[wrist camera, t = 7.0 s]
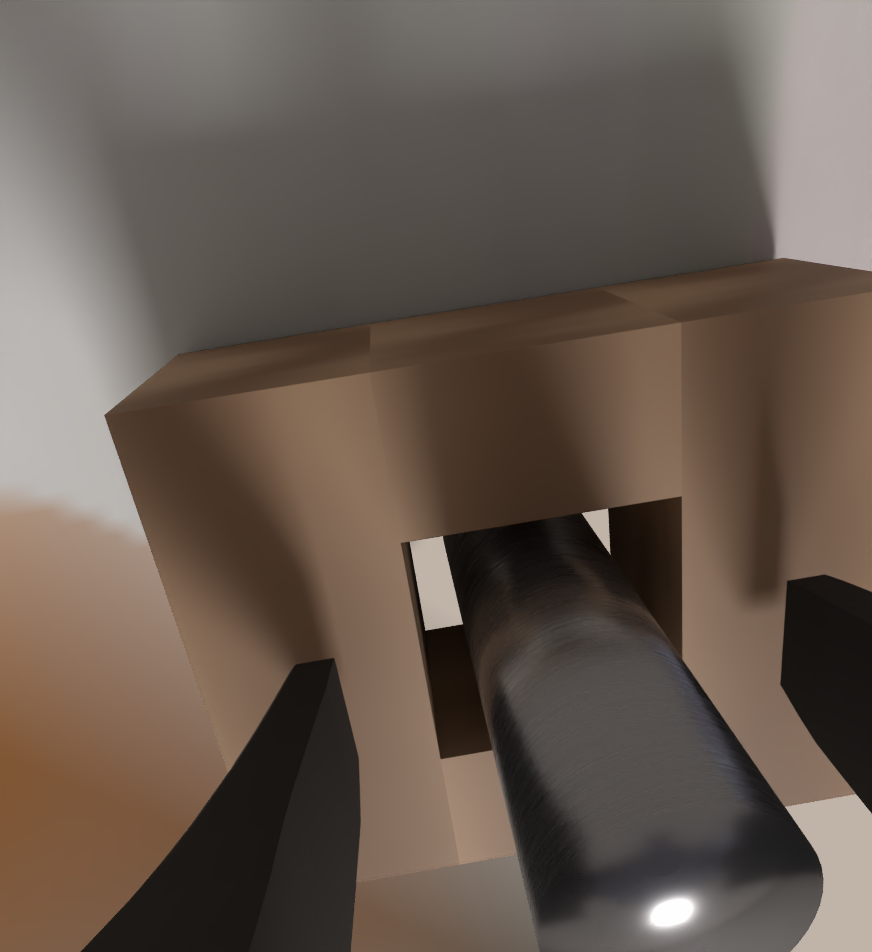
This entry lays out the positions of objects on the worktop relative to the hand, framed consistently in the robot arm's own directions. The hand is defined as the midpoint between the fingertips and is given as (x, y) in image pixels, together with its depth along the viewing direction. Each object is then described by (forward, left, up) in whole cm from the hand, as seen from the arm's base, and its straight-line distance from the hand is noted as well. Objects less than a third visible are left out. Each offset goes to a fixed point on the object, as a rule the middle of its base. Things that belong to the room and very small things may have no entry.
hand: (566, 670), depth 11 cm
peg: (0, 0, -5) cm, 5 cm away
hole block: (0, 0, -5) cm, 5 cm away
